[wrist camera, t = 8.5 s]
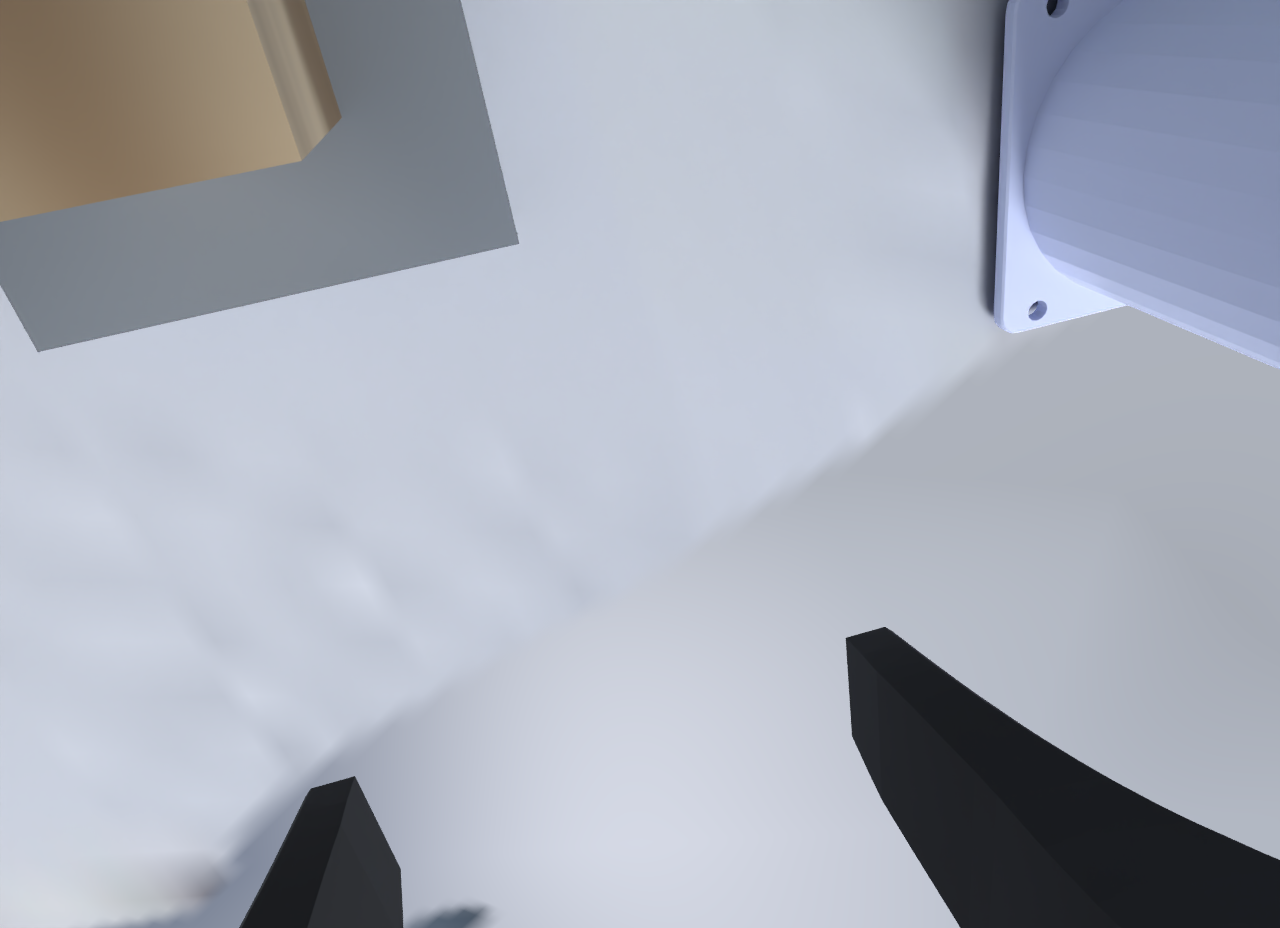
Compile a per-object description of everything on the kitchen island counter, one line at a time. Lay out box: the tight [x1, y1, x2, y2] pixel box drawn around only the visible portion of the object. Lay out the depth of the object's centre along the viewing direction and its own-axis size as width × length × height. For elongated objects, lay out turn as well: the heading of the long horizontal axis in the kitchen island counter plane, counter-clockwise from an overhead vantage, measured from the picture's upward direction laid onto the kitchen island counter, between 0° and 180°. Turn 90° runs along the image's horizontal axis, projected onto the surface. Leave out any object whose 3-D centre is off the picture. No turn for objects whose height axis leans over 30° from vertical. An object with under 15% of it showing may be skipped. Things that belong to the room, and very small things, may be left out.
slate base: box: [0, 0, 519, 352], centre depth 15 cm, size 9×9×2 cm
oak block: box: [0, 0, 342, 222], centre depth 11 cm, size 4×4×5 cm
